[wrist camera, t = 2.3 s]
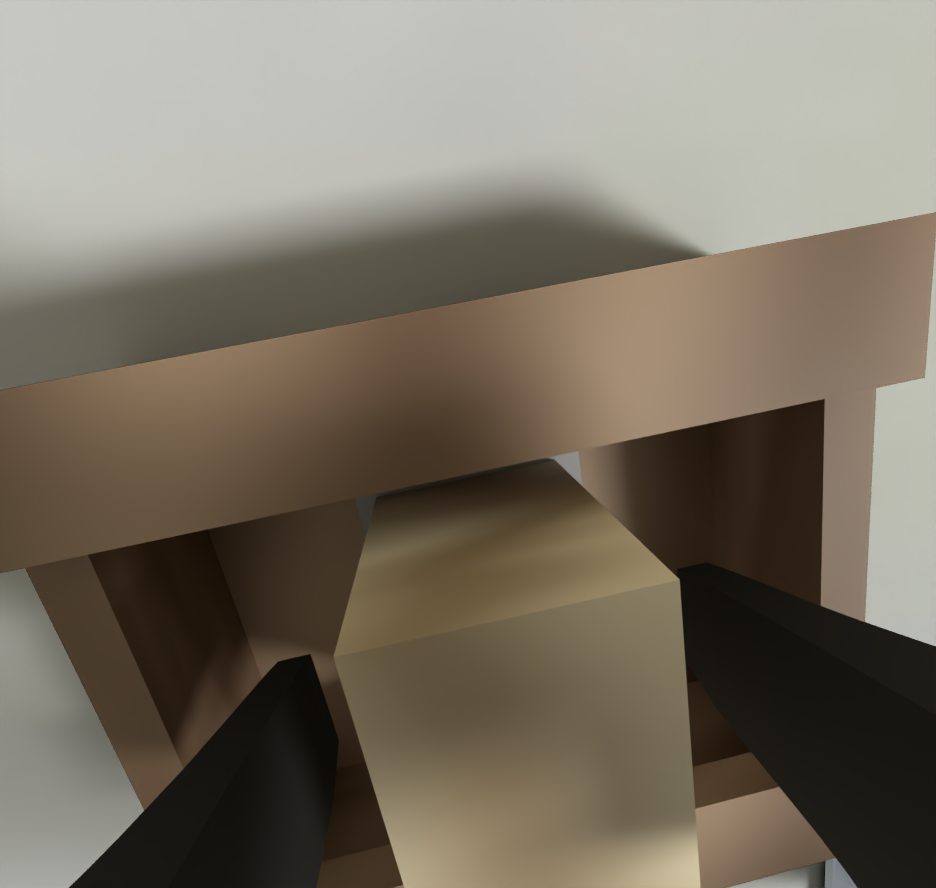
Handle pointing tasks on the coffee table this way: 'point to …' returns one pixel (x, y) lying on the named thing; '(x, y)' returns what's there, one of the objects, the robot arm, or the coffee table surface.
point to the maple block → (521, 689)
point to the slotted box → (454, 458)
